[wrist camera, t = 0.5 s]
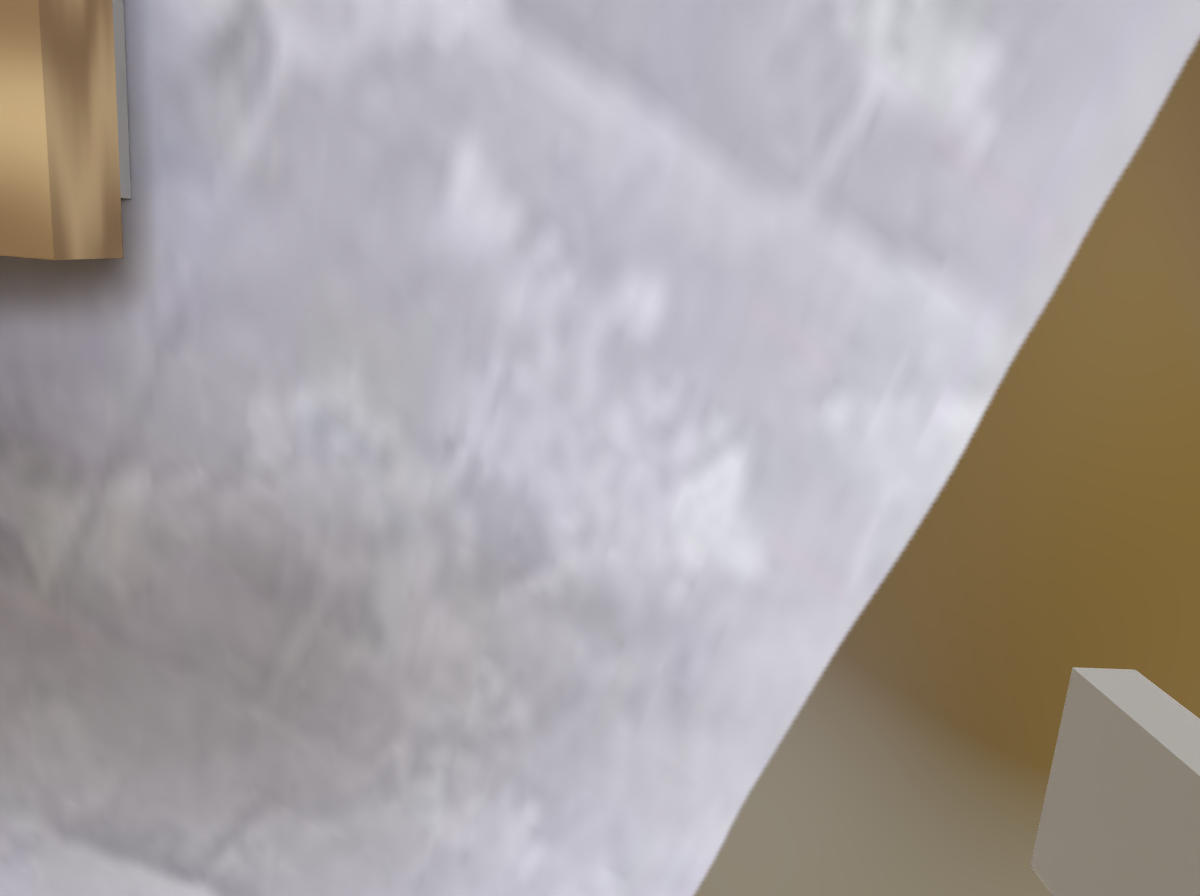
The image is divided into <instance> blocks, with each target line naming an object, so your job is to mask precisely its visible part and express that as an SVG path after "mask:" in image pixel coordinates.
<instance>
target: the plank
mask: <svg viewBox="0 0 1200 896" xmlns="http://www.w3.org/2000/svg"><path fill="white" fill-rule="evenodd" d="M0 256H12V257H24V258H35V259H47V260H74V259H107V258H123V239H122V216H121V192H120V168H119V145H118V121H117V97H116V74H115V50H114V26H113V2H112V0H0Z"/></svg>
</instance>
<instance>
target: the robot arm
mask: <svg viewBox="0 0 1200 896" xmlns="http://www.w3.org/2000/svg"><path fill="white" fill-rule="evenodd" d="M1031 867H1032V869H1033V870H1034V871H1035V873H1036V874H1037V875H1038V877H1039V878H1040V880H1041V881H1042V882H1043V884H1044V885H1045V886H1046V888H1047V889H1048V890H1049V892H1050V893H1051V895H1052V896H1200V719H1199V718H1198V717H1196V716H1195V715H1194V714H1192V713H1191V712H1190V711H1188V710H1187V709H1186V708H1185V707H1183V706H1182V705H1181V704H1179V703H1178V702H1177V701H1175V700H1174V699H1173V698H1171V697H1170V696H1169V695H1168V694H1166V693H1164V692H1163V691H1162V690H1161V689H1160V688H1158V687H1157V686H1156V685H1154V684H1153V683H1152V682H1150V681H1149V680H1148V679H1146V678H1145V677H1144V676H1143V675H1141V674H1140V673H1139V672H1137V671H1136V670H1125V669H1098V668H1072V673H1071V678H1070V682H1069V688H1068V692H1067V696H1066V701H1065V706H1064V711H1063V716H1062V720H1061V725H1060V730H1059V734H1058V739H1057V744H1056V749H1055V753H1054V758H1053V763H1052V768H1051V772H1050V777H1049V782H1048V787H1047V791H1046V796H1045V800H1044V805H1043V810H1042V815H1041V819H1040V824H1039V829H1038V833H1037V838H1036V843H1035V847H1034V852H1033V857H1032V862H1031Z"/></svg>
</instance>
